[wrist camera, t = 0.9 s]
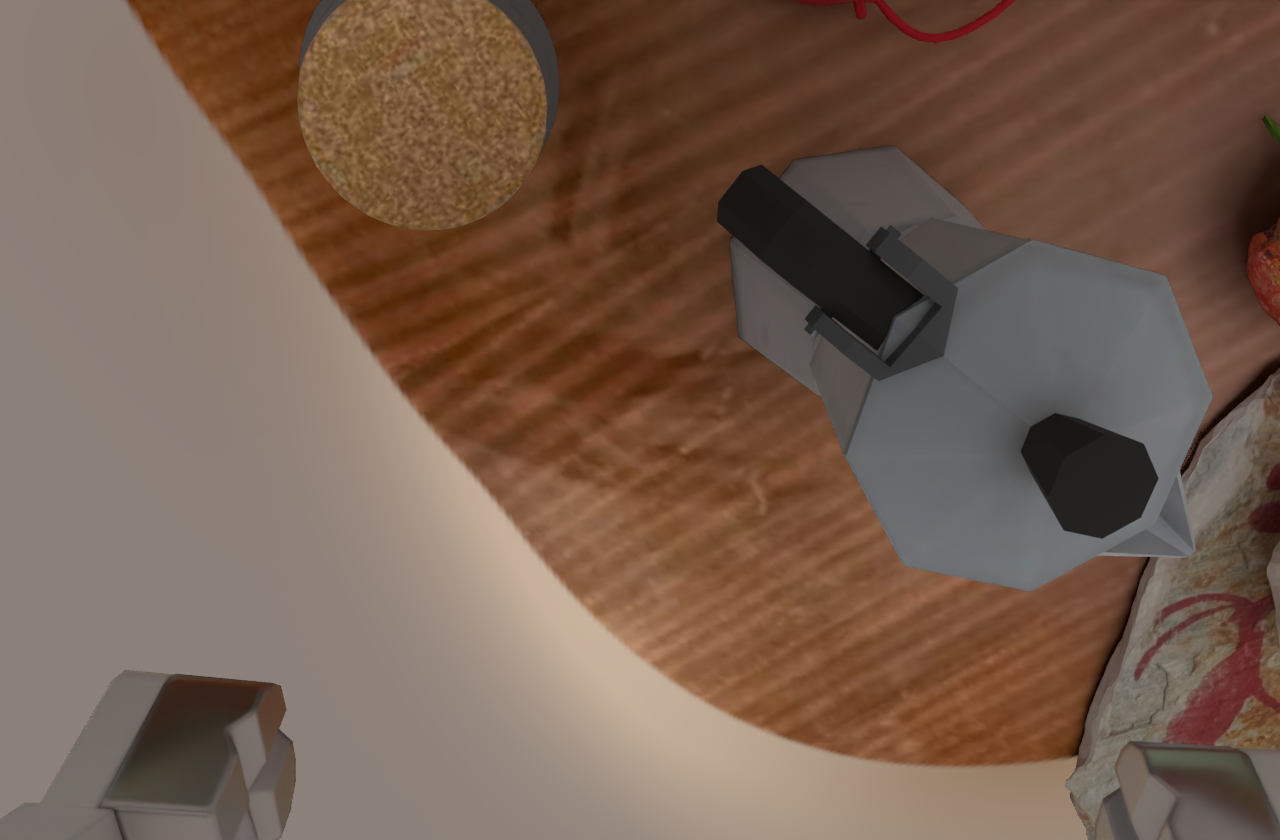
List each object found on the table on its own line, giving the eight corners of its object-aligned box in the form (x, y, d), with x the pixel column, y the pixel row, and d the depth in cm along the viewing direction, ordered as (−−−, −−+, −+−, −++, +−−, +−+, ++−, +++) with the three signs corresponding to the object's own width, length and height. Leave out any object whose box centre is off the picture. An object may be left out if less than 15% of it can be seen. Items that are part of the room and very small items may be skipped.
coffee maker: (1065, 277, 42) (1448, 492, 26) (899, 468, 44) (1157, 783, 28) (742, -1, 38) (957, 42, 21) (571, 225, 40) (644, 429, 23)
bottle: (381, 168, 38) (332, 296, 24) (313, -24, 36) (215, -4, 22) (560, 114, 38) (613, 211, 24) (503, -81, 36) (525, -96, 22)
